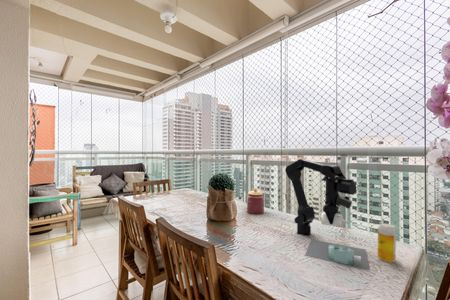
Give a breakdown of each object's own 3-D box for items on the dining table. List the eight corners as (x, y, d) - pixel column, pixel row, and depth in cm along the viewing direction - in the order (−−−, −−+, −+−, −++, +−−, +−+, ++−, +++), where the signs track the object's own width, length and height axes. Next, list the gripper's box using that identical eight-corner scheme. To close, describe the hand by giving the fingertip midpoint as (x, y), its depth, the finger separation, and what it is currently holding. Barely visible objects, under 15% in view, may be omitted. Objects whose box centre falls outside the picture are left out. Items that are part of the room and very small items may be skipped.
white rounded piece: (320, 224, 108) (320, 214, 108) (321, 221, 112) (321, 211, 112) (348, 228, 102) (348, 218, 102) (348, 225, 106) (348, 215, 106)
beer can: (378, 255, 98) (378, 221, 98) (395, 259, 94) (396, 224, 94) (377, 260, 93) (377, 225, 93) (395, 265, 89) (395, 228, 89)
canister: (243, 210, 168) (243, 187, 168) (257, 208, 174) (257, 186, 174) (252, 215, 156) (252, 190, 156) (267, 213, 162) (267, 189, 162)
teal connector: (328, 259, 93) (328, 248, 93) (328, 255, 97) (329, 244, 97) (361, 267, 87) (361, 254, 87) (360, 262, 91) (360, 250, 91)
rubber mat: (304, 256, 97) (304, 255, 97) (311, 240, 114) (311, 239, 114) (369, 271, 85) (369, 270, 85) (366, 250, 102) (366, 249, 102)
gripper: (351, 196, 95) (350, 232, 96) (351, 189, 111) (350, 220, 112) (323, 193, 101) (322, 227, 101) (326, 187, 117) (326, 216, 117)
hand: (331, 222), depth 108 cm, fingers closed on white rounded piece, 4 cm apart
